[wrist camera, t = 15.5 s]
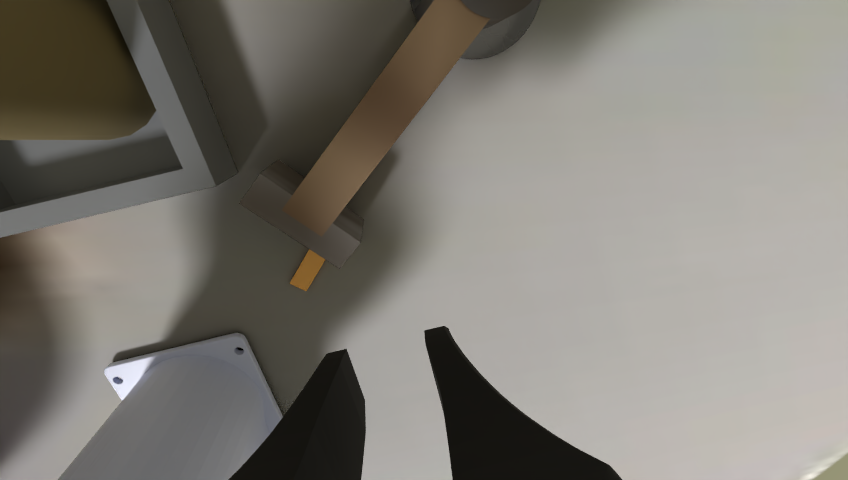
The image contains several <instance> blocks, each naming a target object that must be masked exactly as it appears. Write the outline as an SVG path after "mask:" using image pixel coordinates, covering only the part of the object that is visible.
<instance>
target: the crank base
mask: <svg viewBox="0 0 848 480" xmlns="http://www.w3.org/2000/svg"><path fill="white" fill-rule="evenodd" d="M433 1H434V0H410V2H411V5H412V9H413V12H414V15H415V17H416V20H417V22H419V20H420V19H421V18H422V16H423V15H424V13H425V12H426V11H427V9H428V8H429V7H430V5H431V4H432V2H433ZM539 3H540V0H532V1H531V2H530V3H529V4H528V5H527V6H526V7H525V8H524V9H522V10H521V11H519V12H518V13H516V14H514V15H512V16H510V17H508V18H506V19H504V20H502V21H500V22H498V23H497V24H495V25H493V26H491V27H488V28H485V29H482V30H481V31H480V33H479V34H478V35H477V36H476V38H475V39H474V40H473V42H472V43H471V44H470V45H469V47H468V48H467V49H466V51H465V52H464V53H463V55H462V56H461V57H460V58H466V59H481V58H487V57H490V56H493V55H496V54H498V53H500V52H503V51H504V50H506V49H507V48H509V47H510V46H512V45H513V44H514V43H515V42H516V41H518V40H519V38H520V37H521V36H522V35H523V34H524V33H525V31H526V30H527V29H528V27H529V26H530V24H531V22H532V21H533V19H534V17H535V14H536V12H537V10H538V7H539Z"/></svg>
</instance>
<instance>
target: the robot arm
mask: <svg viewBox="0 0 848 480" xmlns="http://www.w3.org/2000/svg"><path fill="white" fill-rule="evenodd" d="M425 343H426V347H427V351H428V355H429V359H430V363H431V366H432V370H433V374H434V378H435V381H436V385H437V389H438V393H439V397H440V400H441V404H442V408H443V412H444V417H445V424H446V431H447V438H448V445H449V453H450V461H451V469H452V477H453V480H622V479H621V478H620V477H619V475H618V474H617V473H616V472H615V471H614V470H613V468H612V467H611V466H610V465H608V464H606V463H604V462H602V461H600V460H598V459H596V458H594V457H592V456H591V455H589V454H587V453H585V452H583V451H581V450H579V449H577V448H575V447H574V446H572V445H570V444H569V443H567V442H565V441H564V440H562V439H560V438H559V437H557V436H556V435H554V434H552V433H551V432H550V431H548V430H547V429H545V428H544V427H542V426H541V425H539V424H538V423H537V422H535V421H534V420H532V419H531V418H529V417H528V416H527V415H525V414H524V413H523V412H521V411H520V410H519V409H518V408H516V407H515V406H514V405H513V404H511V403H510V402H509V401H508V400H507V399H506V398H505V397H503V396H502V395H501V394H500V393H499V392H498V391H497V390H496V389H495V388H494V387H493V386H492V385H491V384H490V383H489V382H488V381H487V380H486V379H485V378H484V377H483V376H482V375H481V374H480V373H479V372H478V371H477V369H476V368H475V367H474V366H473V365H472V364H471V362H470V361H469V360H468V359H467V358H466V356H465V355H464V354H463V352H462V351H461V350H460V348H459V347H458V345H457V344H456V342H455V341H454V339H453V337H452V335H451V333H450V331H449V329H448V328H447V327H445V326H442V327H437V328H433V329H429V330H425ZM237 347H240V348H242V349H243V351H240V350H238V349H237ZM104 373H105V376H106V377H107V379H108V380H109V382H110V383H111V385H112V386H113V388H114V389H115V391H116V392H117V394H118V395H119V397H120V398H121V400H122V402H121V403H120V404H119V405H118V407H117V408H116V409H115V410H114V412H113V413H112V414H111V415H110V416H109V418H108V419H107V420H106V421H105V423H104V424H103V425H102V426H101V427H100V429H99V430H98V431H97V432H96V434H95V435H94V436H93V437H92V438H91V440H90V441H89V442H88V443H87V445H86V446H85V447H84V448H83V449H82V451H81V452H80V453H79V454H78V456H77V457H76V458H75V459H74V460H73V462H72V463H71V464H70V465H69V467H68V468H67V469H66V470H65V472H64V473H63V474H62V475H61V476H60V478H59V479H58V480H361V475H362V465H363V455H364V444H365V433H366V426H365V399H364V396H363V394H362V391H361V388H360V385H359V382H358V380H357V377H356V374H355V371H354V369H353V366H352V363H351V360H350V357H349V355H348V352H347V349H344V350H340V351H336V352H332V353H327V354H326V356H325V357H324V359H323V360H322V362H321V363H320V364H319V366H318V367H317V369H316V370H315V372H314V374H313V375H312V377H311V378H310V380H309V381H308V383H307V384H306V386H305V387H304V389H303V390H302V391H301V393H300V394H299V396H298V397H297V399H296V400H295V401H294V403H293V404H292V406H291V407H290V408H289V410H288V411H287V412H286V414H285V415H284V416H282V414H281V411H280V409H279V407H278V405H277V403H276V401H275V399H274V396H273V394H272V392H271V390H270V388H269V386H268V384H267V382H266V379H265V377H264V375H263V373H262V371H261V369H260V367H259V364H258V362H257V360H256V358H255V356H254V354H253V352H252V350H251V347H250V345H249V343H248V341H247V339H246V337H245V336H244V335H242V334H240V333H233V334H229V335H225V336H220V337H216V338H212V339H208V340H204V341H200V342H196V343H191V344H187V345H183V346H179V347H175V348H171V349H167V350H163V351H158V352H154V353H150V354H146V355H142V356H138V357H134V358H130V359H125V360H121V361H117V362H113V363H111V364H109V365H108V366H107V367H106V368H105V370H104ZM118 377H120V378H122V379H119V378H118Z"/></svg>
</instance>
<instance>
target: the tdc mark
mask: <svg viewBox="0 0 848 480" xmlns="http://www.w3.org/2000/svg"><path fill="white" fill-rule="evenodd" d="M324 261H325V259H324V258H322V257H321V256H319V255H318V254H316V253H315V252H313V251H311V250H310V249H309V251H308V252H307V254H306V256H305V258H304V259H303V261H302V263H301V264H300V266H299V268H298V270H297V271H296V273H295V275H294V276H293V278H292V280H291V282H290V284H292V285H294V286H296V287H298V288H300V289H302V290H304V291H307V290H308V288H309V286H310V285H311V283H312V281H313V280H314V278H315V276H316V275H317V273H318V271H319V270H320V268H321V266H322V265H323V263H324Z"/></svg>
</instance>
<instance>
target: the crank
mask: <svg viewBox="0 0 848 480" xmlns="http://www.w3.org/2000/svg"><path fill="white" fill-rule="evenodd" d="M531 1H532V0H434V1H433V2H432V4H431V5H430V7H429V8H428V9H427V11H426V12H425V13H424V15H423V16H422V18H421V19H420V20H419V22H418V23H417V24H416V26H415V27H414V29H413V30H412V31H411V33H410V34H409V35H408V37H407V38H406V40H405V41H404V42H403V44H402V45H401V46H400V48H399V49H398V51H397V52H396V53H395V55H394V56H393V57H392V59H391V60H390V62H389V63H388V64H387V66H386V67H385V68H384V70H383V71H382V73H381V74H380V75H379V77H378V78H377V79H376V81H375V82H374V84H373V85H372V86H371V88H370V89H369V90H368V92H367V93H366V95H365V96H364V97H363V99H362V100H361V101H360V103H359V104H358V106H357V107H356V108H355V110H354V111H353V112H352V114H351V115H350V117H349V118H348V119H347V121H346V122H345V123H344V125H343V126H342V128H341V129H340V130H339V132H338V133H337V134H336V136H335V137H334V139H333V140H332V141H331V143H330V144H329V145H328V147H327V148H326V150H325V151H324V152H323V154H322V155H321V156H320V158H319V159H318V161H317V162H316V163H315V165H314V166H313V167H312V169H311V170H310V172H309V173H308V174H307V176H306V177H305V178H304V177H303V176H301V175H300V174H299V173H297V172H296V171H294V170H293V169H292V168H290V167H289V166H287V165H286V164H285V163H283V162H282V161H280V160H277V161H276V162H275V163H273V164H272V165H271V166H269V167H268V168H267V169H265V170H264V171H263V172H261V173H260V174H259V176H258V177H257V178H256V180H255V181H254V183H253V184H252V186H251V187H250V189H249V190H248V191H247V193H246V194H245V196H244V197H243V199H242V200H241V202H240V203H239V204H241V205H242V206H244V207H245V208H247V209H248V210H250V211H252V212H253V213H255V214H256V215H258V216H259V217H261V218H262V219H264V220H265V221H267V222H268V223H270V224H271V225H273V226H275V227H276V228H278V229H279V230H281V231H282V232H284V233H285V234H287V235H288V236H290V237H291V238H293V239H295V240H296V241H298V242H299V243H301V244H302V245H304V246H305V247H307V248H308V249H310V250H311V251H313V252H315V253H316V254H318V255H319V256H321V257H322V258H324V259H325V260H327V261H328V262H330V263H331V264H333V265H334V266H336V267H338V268H339V269H340V268H341V267H342V265H343V264H344V263H345V262H346V260H347V259H348V258H349V257H350V255H351V254H352V253H353V252H354V250H355V249H356V248H357V247H358V246H359V244H360V243H361V237H362V230H363V222H364V220H363V219H362V218H361V217H359V216H358V215H356V214H355V213H354V212H352V211H351V210H349V209H348V208H347V207H345V206H346V205H347V204H348V202H349V201H350V200H351V198H352V197H353V196H354V195H355V193H356V192H357V191H358V189H359V188H360V187H361V185H362V184H363V183H364V182H365V180H366V179H367V178H368V176H369V175H370V174H371V172H372V171H373V170H374V169H375V167H376V166H377V165H378V163H379V162H380V161H381V160H382V158H383V157H384V156H385V154H386V153H387V152H388V150H389V149H390V148H391V147H392V145H393V144H394V143H395V141H396V140H397V139H398V137H399V136H400V135H401V134H402V132H403V131H404V130H405V128H406V127H407V126H408V125H409V123H410V122H411V121H412V119H413V118H414V117H415V115H416V114H417V113H418V112H419V110H420V109H421V108H422V106H423V105H424V104H425V102H426V101H427V100H428V99H429V97H430V96H431V95H432V93H433V92H434V91H435V90H436V88H437V87H438V86H439V84H440V83H441V82H442V80H443V79H444V78H445V77H446V75H447V74H448V73H449V71H450V70H451V69H452V68H453V66H454V65H455V64H456V62H457V61H458V60H459V58H460V57H461V56H462V55H463V53H464V52H465V51H466V49H467V48H468V47H469V45H470V44H471V43H472V42H473V40H474V39H475V38H476V36H477V35H478V34H479V33H480V31H481V30H482V29H485V28H488V27H491V26H493V25H495V24H497V23H498V22H500V21H502V20H504V19H506V18H508V17H510V16H512V15H514V14H516V13H518V12H519V11H521V10H522V9H524V8H525V7H526V6H527V5H528V4H529V3H530V2H531Z"/></svg>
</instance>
